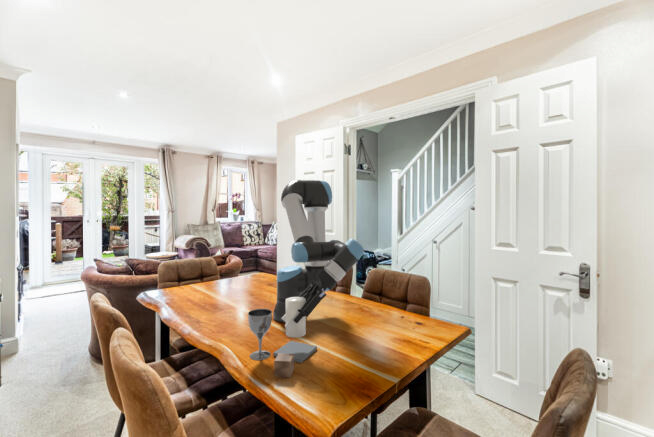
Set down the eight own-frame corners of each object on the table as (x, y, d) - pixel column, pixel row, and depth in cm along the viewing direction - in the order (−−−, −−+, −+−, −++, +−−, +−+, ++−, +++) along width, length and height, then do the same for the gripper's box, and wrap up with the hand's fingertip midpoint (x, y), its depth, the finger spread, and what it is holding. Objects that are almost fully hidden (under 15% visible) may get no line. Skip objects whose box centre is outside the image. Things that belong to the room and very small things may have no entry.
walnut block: (274, 377, 93) (274, 360, 93) (278, 368, 98) (278, 353, 98) (290, 378, 92) (290, 361, 92) (294, 369, 97) (294, 353, 97)
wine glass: (250, 350, 110) (250, 308, 110) (272, 349, 111) (272, 308, 110) (246, 361, 102) (246, 316, 102) (270, 360, 103) (270, 315, 103)
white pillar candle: (281, 335, 107) (281, 300, 106) (292, 328, 113) (292, 295, 113) (299, 338, 103) (299, 303, 103) (309, 331, 110) (309, 298, 110)
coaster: (273, 356, 106) (273, 352, 106) (290, 343, 116) (290, 340, 116) (301, 363, 101) (301, 359, 101) (316, 349, 111) (316, 346, 111)
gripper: (316, 264, 120) (274, 309, 116) (331, 273, 101) (281, 328, 97) (329, 276, 122) (288, 321, 117) (346, 288, 103) (298, 342, 98)
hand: (285, 324), depth 107 cm, fingers closed on white pillar candle, 7 cm apart
